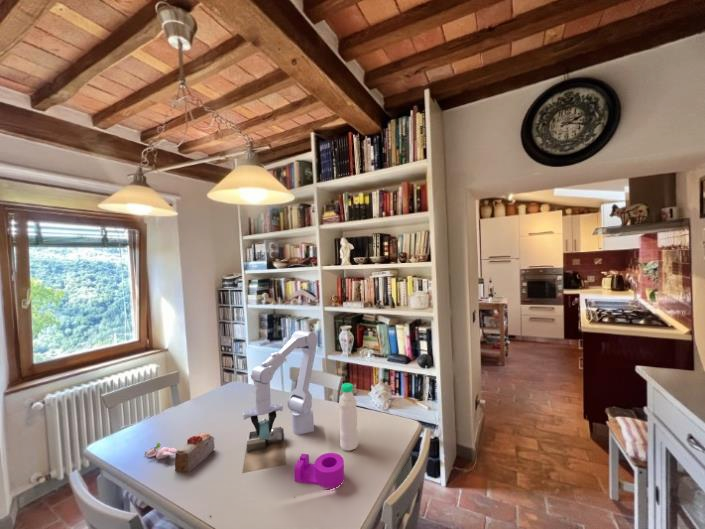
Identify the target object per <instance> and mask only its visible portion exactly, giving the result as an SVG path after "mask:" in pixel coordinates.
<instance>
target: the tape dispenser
mask: <svg viewBox="0 0 705 529" xmlns="http://www.w3.org/2000/svg"><path fill="white" fill-rule="evenodd" d="M344 461H345V460H344V458H343V457H342V456H341V454H339V453H335V452H328V453H323V454H321V455H319V456H318V457H317V458H316V459H315V461H314V463H310V454H308V453H301V454H300V456H299V459H297V461H296V464H295V466H294V472H293V473H294V474H293V475H294V477H293V478H294V482H296V483H297V482H299V483H305V484H312V485H313V484H314V485H319V486H321V487H323V488H325V489H324V490H330V489H333V488H336V487H338V486H339V485H341V483H342V482H343V480H344V481H345V462H344Z"/></svg>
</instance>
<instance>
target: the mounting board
mask: <svg viewBox="0 0 705 529" xmlns="http://www.w3.org/2000/svg"><path fill="white" fill-rule="evenodd" d="M286 461H287V459H286V441H285V437H284V440H282V442H280V443H274V444H268V445H266V449H263V450H258V451H252V452H247V445H246V447H245V454H244V460H243V467H242V474H244V473H248V472H255V471H259V470H260V471H261V470H264V469H265V470H266V469H269V468H274V467H280V466H284V465H287V462H286Z"/></svg>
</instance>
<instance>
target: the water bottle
mask: <svg viewBox="0 0 705 529" xmlns="http://www.w3.org/2000/svg"><path fill="white" fill-rule="evenodd" d="M341 392H342V394H341V397H340V398H339V402H338V405H339V413H338V414H339V416H338V417H339V437H340V438H339V440H340V441H339V444H340V445H339V446H340V448H341V449H342V450H343V449H344V450H343V451H345V450H352V449H354V448H356V447H358V446H357V445H359V441H358V427H357V426H358V412H357V399H356V398H355V396H354V394H353V392H354V385H353V384H352V383H349V382H344V383H342V385H341ZM356 449H357V448H356Z"/></svg>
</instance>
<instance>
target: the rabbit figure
mask: <svg viewBox="0 0 705 529" xmlns="http://www.w3.org/2000/svg"><path fill="white" fill-rule="evenodd" d="M160 447H161V443H160V442H156V445H155V446H154V447H150V450H149V451H147V450H146V451H144V456H146V455H147V457H148V458H152V457H155V458H156V459H157V460H159V459H160V460H161V458H162V459H165V458H167V457H168V456H172V457H174V456H175V455H174V454H176V451H177V450H178V449H176V448H174V447H171V448H170V447H168V446H163V447H162V448H160ZM159 448H160V449H159Z"/></svg>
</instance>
